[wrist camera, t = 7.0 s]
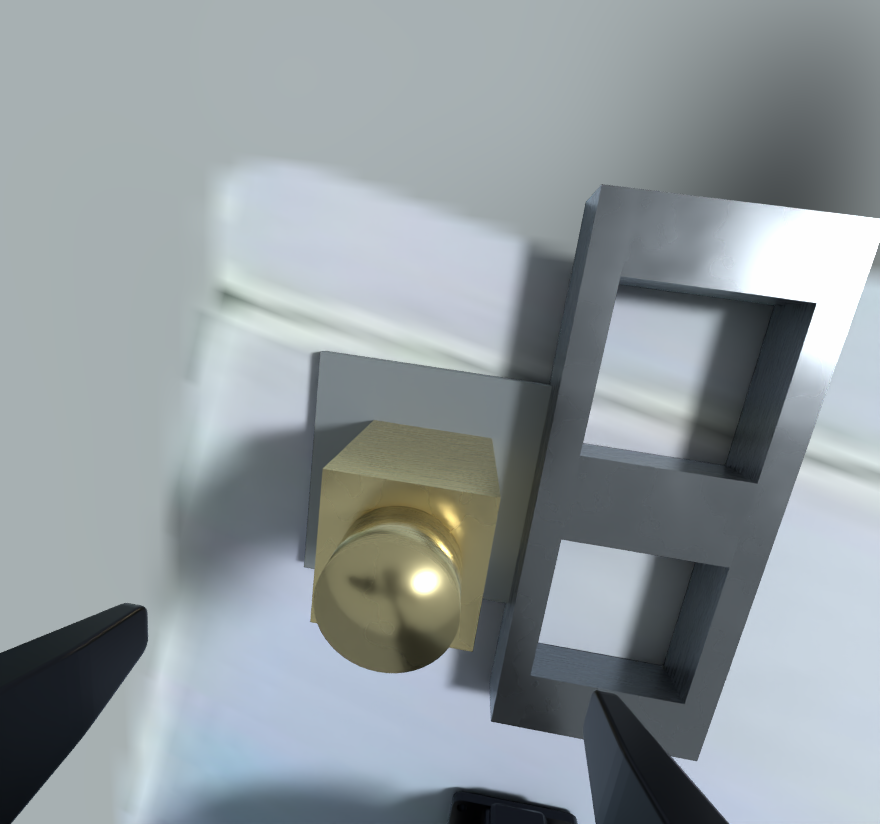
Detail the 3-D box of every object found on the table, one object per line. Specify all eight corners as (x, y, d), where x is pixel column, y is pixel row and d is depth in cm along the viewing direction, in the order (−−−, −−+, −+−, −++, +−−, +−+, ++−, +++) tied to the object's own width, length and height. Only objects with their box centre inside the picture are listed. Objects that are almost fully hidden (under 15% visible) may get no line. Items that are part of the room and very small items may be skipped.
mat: (517, 596, 19) (519, 605, 19) (309, 559, 20) (304, 566, 19) (561, 386, 17) (564, 388, 16) (325, 350, 18) (320, 351, 17)
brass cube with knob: (473, 546, 18) (472, 712, 10) (362, 527, 18) (280, 676, 11) (492, 438, 17) (506, 534, 9) (374, 419, 17) (291, 498, 10)
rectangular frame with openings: (675, 718, 20) (697, 761, 18) (489, 683, 20) (491, 721, 18) (833, 232, 15) (887, 219, 13) (586, 201, 16) (601, 184, 14)
